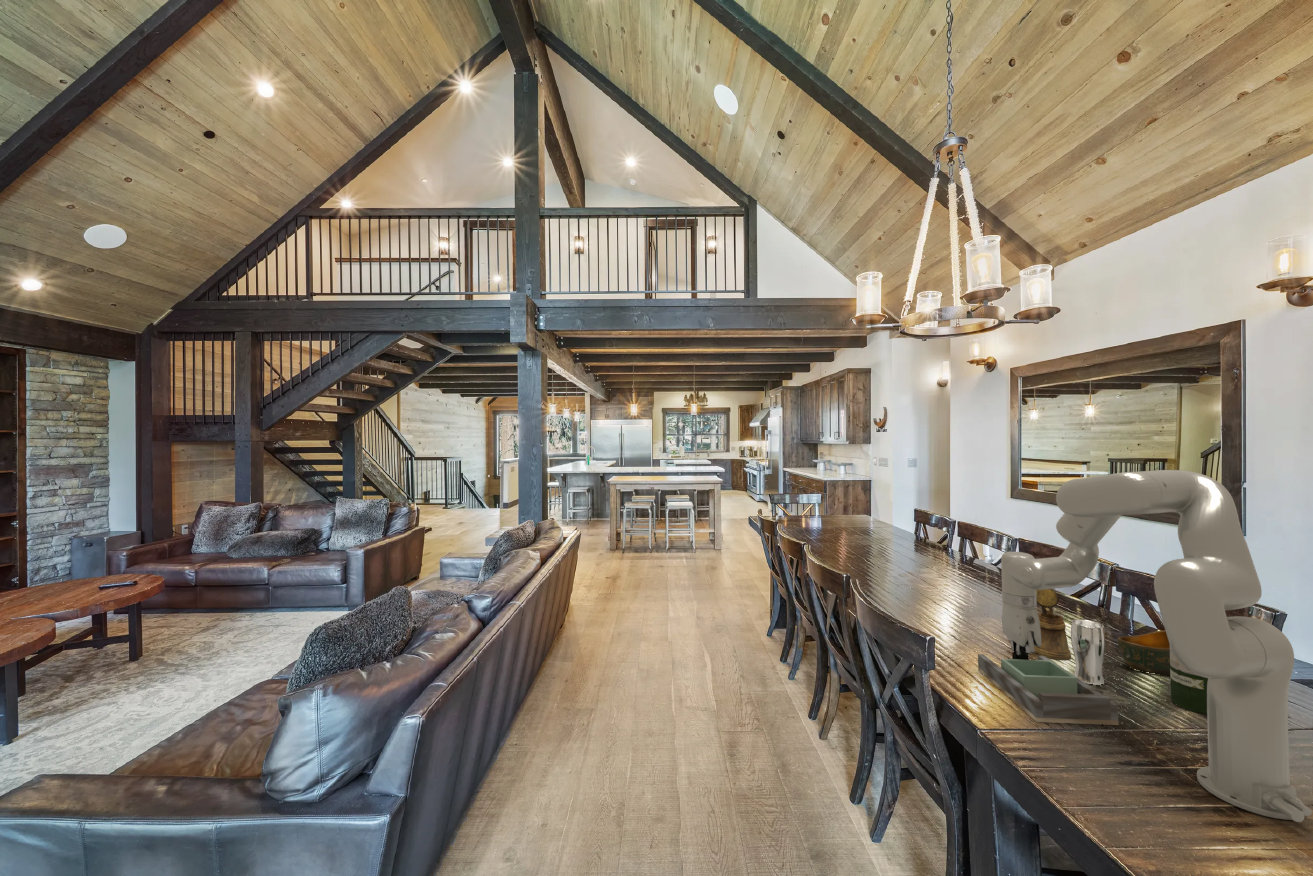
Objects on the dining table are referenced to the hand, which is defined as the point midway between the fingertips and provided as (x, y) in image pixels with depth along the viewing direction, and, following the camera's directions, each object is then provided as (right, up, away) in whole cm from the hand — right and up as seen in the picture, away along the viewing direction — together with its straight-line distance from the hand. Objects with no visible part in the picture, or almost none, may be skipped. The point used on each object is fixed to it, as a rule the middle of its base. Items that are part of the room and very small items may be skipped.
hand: (1020, 667), depth 136 cm
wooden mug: (+21, -3, +17) cm, 27 cm away
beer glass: (+17, -3, -1) cm, 17 cm away
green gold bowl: (+42, -2, +4) cm, 42 cm away
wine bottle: (+30, -3, -15) cm, 34 cm away
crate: (-1, -2, -7) cm, 8 cm away
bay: (-1, -3, -8) cm, 9 cm away
